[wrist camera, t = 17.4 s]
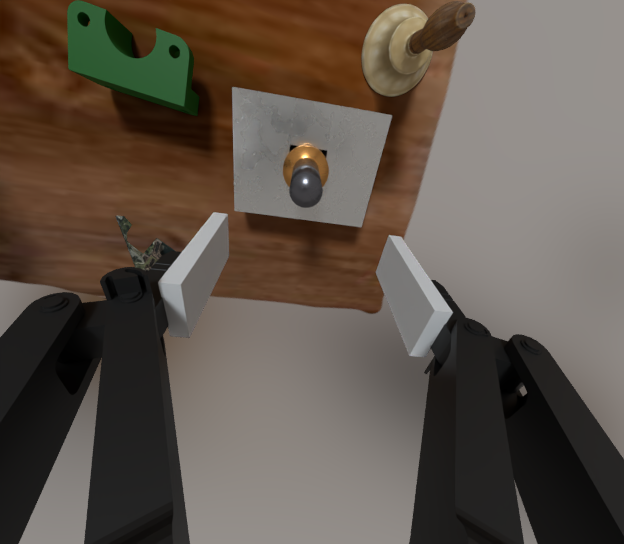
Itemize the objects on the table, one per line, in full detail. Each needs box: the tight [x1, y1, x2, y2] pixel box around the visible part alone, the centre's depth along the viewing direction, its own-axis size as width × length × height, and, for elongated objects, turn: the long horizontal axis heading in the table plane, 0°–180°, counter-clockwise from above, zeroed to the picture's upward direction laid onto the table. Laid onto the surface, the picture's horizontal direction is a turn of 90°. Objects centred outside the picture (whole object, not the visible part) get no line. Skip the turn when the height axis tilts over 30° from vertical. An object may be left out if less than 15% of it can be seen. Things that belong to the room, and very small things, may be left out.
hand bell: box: [362, 1, 475, 97], centre depth 24 cm, size 8×8×16 cm
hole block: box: [232, 87, 392, 227], centre depth 34 cm, size 18×14×5 cm
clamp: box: [67, 0, 199, 116], centre depth 28 cm, size 12×6×9 cm, turn 67°
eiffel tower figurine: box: [116, 216, 174, 272], centre depth 40 cm, size 15×10×13 cm
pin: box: [283, 145, 329, 208], centre depth 31 cm, size 6×6×14 cm
